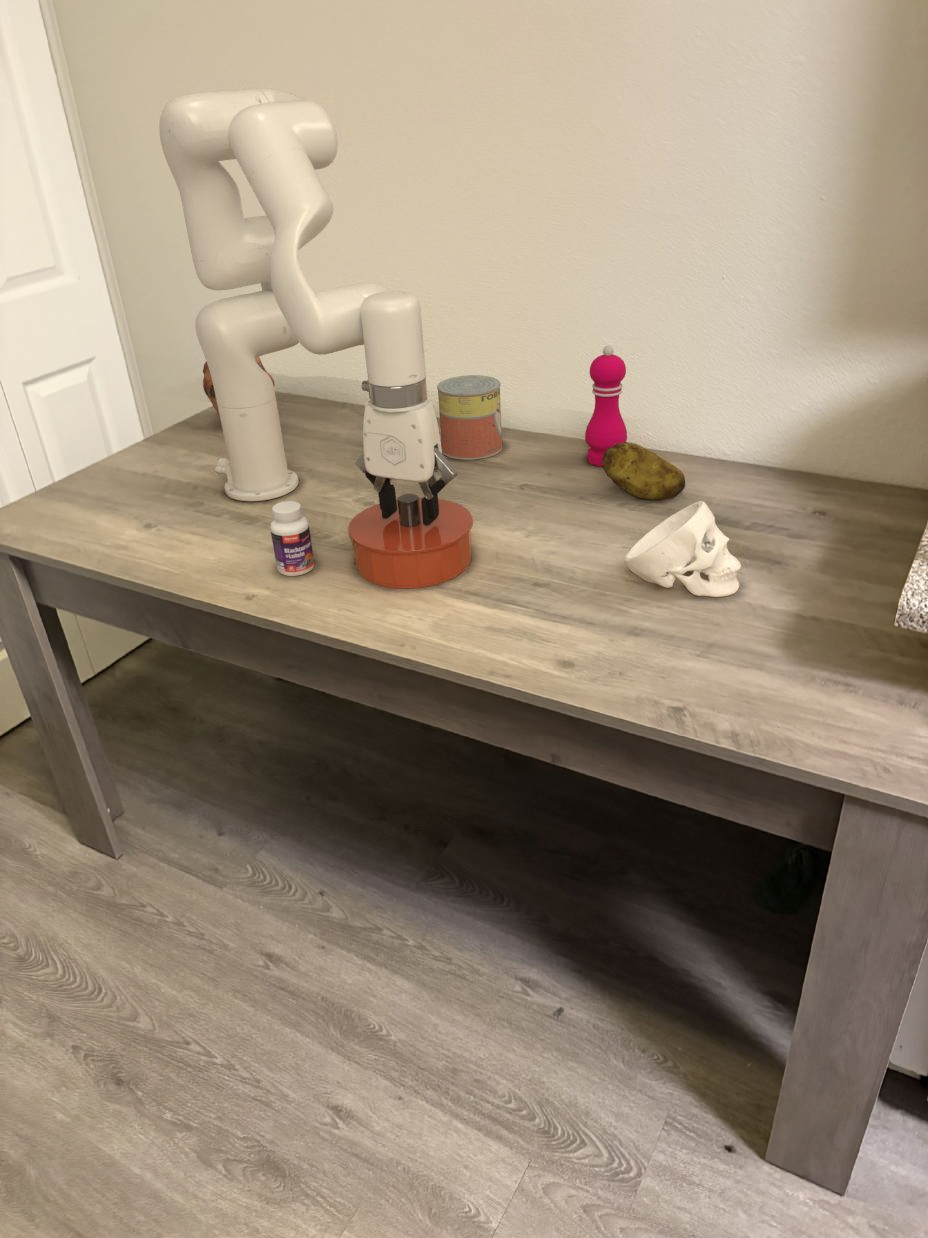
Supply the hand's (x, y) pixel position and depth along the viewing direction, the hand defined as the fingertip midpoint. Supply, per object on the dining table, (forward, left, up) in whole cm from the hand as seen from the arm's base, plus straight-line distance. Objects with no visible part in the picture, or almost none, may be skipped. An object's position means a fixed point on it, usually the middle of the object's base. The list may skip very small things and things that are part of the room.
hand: (409, 517), depth 129 cm
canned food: (-11, +43, -7) cm, 45 cm away
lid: (0, 0, -1) cm, 1 cm away
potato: (+24, +33, -7) cm, 41 cm away
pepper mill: (+14, +45, -7) cm, 48 cm away
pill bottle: (-15, -8, -7) cm, 18 cm away
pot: (0, 0, -7) cm, 7 cm away
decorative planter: (-63, +42, -7) cm, 76 cm away
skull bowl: (+37, +7, -7) cm, 38 cm away
